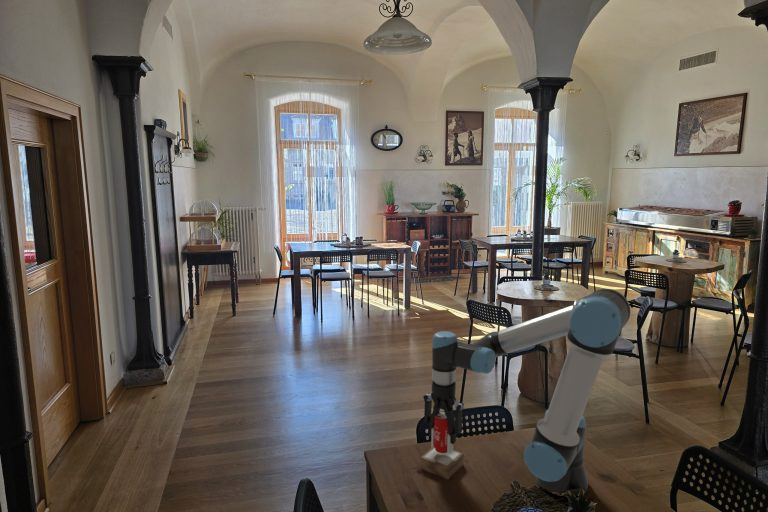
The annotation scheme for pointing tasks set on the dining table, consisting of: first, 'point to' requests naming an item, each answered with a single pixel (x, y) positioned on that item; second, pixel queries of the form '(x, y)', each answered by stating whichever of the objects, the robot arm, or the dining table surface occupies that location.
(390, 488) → the dining table surface
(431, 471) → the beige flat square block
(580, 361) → the robot arm
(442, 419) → the beverage can
